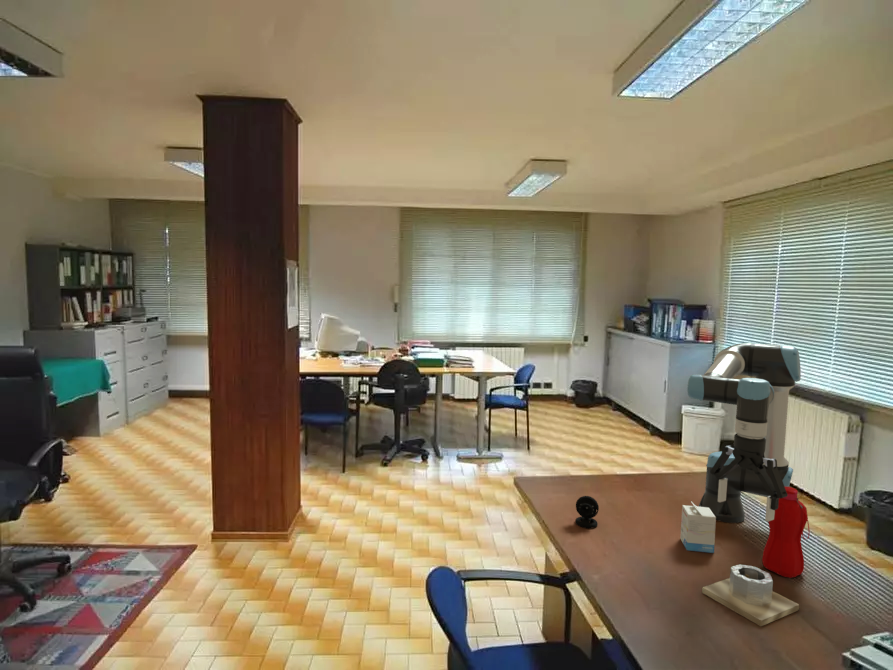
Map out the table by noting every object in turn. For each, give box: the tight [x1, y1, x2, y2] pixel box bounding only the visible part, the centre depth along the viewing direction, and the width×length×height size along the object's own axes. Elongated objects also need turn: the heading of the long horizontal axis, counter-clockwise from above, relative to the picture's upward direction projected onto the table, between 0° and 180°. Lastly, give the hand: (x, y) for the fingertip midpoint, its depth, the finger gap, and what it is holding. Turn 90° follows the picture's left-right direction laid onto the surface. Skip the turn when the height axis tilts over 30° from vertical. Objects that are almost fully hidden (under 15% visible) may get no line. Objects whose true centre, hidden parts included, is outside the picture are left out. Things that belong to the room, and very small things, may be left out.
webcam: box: [575, 495, 600, 530], centre depth 182 cm, size 8×8×10 cm
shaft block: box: [701, 569, 800, 627], centre depth 138 cm, size 16×16×8 cm
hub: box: [729, 564, 774, 607], centre depth 138 cm, size 9×9×6 cm
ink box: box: [679, 501, 717, 554], centre depth 169 cm, size 9×8×13 cm
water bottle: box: [761, 486, 810, 579], centre depth 154 cm, size 9×11×25 cm
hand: (744, 510), depth 145 cm, fingers open, 13 cm apart
